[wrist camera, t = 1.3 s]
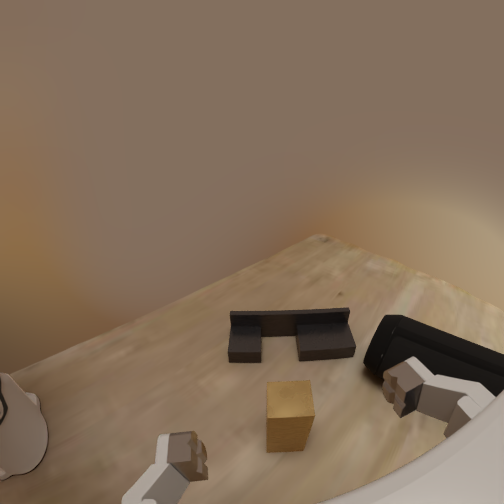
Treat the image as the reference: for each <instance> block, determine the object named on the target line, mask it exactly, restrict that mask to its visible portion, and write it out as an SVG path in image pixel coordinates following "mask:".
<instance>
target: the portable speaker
mask: <svg viewBox="0 0 504 504" xmlns="http://www.w3.org/2000/svg"><path fill="white" fill-rule="evenodd" d="M411 357H416V358H417V359H418V360H419V361H420V362H421V363H422V364H423V365H424V366H425V367H426V368H427V369H428V370H429V371H430V372H431V373H432V374H433V375H437V374H438V375H442V376H447V377H452V378H457V379H462V380H468V381H473V382H479V383H481V384H482V385H483V386H484V387H485V388H486V389H487V390H488V391H489V392H490V393H492V394H493V395H494V396H495V397H497V396H498V395H499V394H500V393H501V392H502V391H503V390H504V354H501V353H498V352H496V351H493V350H491V349H488V348H485V347H483V346H480V345H478V344H475V343H472V342H470V341H467V340H465V339H462V338H459V337H457V336H454V335H452V334H449V333H446V332H444V331H441V330H439V329H436V328H434V327H431V326H428V325H426V324H423V323H421V322H418V321H416V320H413V319H410V318H408V317H405V316H403V315H385V316H384V317H383V319H382V321H381V322H380V324H379V326H378V328H377V330H376V332H375V334H374V336H373V338H372V340H371V343H370V345H369V347H368V349H367V352H366V355H365V358H364V361H363V363H364V365H365V366H366V367H367V368H368V369H369V370H370V371H371V372H372V373H373V374H374V375H377V376H378V377H380V378H382V379H384V378H383V373H384V371H386V370H388V369H390V368H392V367H394V366H396V365H397V364H399V363H401V362H404V361H405V360H407V359H409V358H411ZM384 380H385V379H384Z"/></svg>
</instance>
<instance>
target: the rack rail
mask: <svg viewBox="0 0 504 504" xmlns="http://www.w3.org/2000/svg"><path fill="white" fill-rule="evenodd" d="M349 314H350V310H349V307H348V308H332V309H312V310H284V311H230V321H231V331H230V339H229V347H228V357H229V362H236V363H261V337H272V336H296V342H297V349H298V357H299V361H313V360H327V359H338V358H348V357H353V355H354V352H355V349H356V345H355V342H354V339H353V336H352V333H351V330H350V328H349V325H348V318H349Z"/></svg>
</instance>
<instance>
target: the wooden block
mask: <svg viewBox="0 0 504 504" xmlns="http://www.w3.org/2000/svg"><path fill="white" fill-rule="evenodd" d="M314 417H315V412H314V405H313V398H312V391H311V384H310V380H306V381H288V382H267V420H266V436H267V453H270V452H293V451H303V450H304V447H305V444H306V441H307V438H308V436H309V433H310V430H311V426H312V423H313V420H314Z"/></svg>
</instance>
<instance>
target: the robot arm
mask: <svg viewBox="0 0 504 504" xmlns="http://www.w3.org/2000/svg"><path fill="white" fill-rule="evenodd" d="M383 378H384V379H385V381H384V383H383V384H382V390H383V394H384V396H385V398H386V400H387V401H388V402H389V403H392V404H394V406H393V409H394V411H395V412H396V413H397V415H398V416H399V417H400V418H402V417H404V416H406V415H408V414H409V413H411V412H413V411H415V410H416V411H419V412H421V413H424V414H426V415H429V416H431V417H434V418H437V419H439V420H442V421H445V422H447V423H448V425H447V427H446V429H445V431H444V435H445V437H446V438H447V439H445V440H444V441H442V442H441V443H439V444H438V445H436V446H435V447H433V448H432V449H430V450H429V451H427V452H426V453H424V454H423V455H421V456H419V457H418V458H416V459H414V460H413V461H411V462H409V463H408V464H406V465H404V466H402V467H400V468H399V469H397V470H395V471H393V472H391V473H389V474H387V475H385V476H383V477H381V478H379V479H377V480H375V481H373V482H371V483H368V484H366V485H364V486H362V487H359V488H357V489H354V490H352V491H350V492H347V493H344V494H342V495H339V496H336V497H334V498H331V499H328V500H325V501H322V502H319V503H316V504H504V390H503V391H502V392H501V393H500V394H499V395H498V396H497V397H495V396H494V395H493V394H492V393H490V392H489V391H488V390H487V389H486V388H485V387H484V386H483V385H482V384H481V383H479V382H473V381H468V380H462V379H457V378H452V377H447V376H442V375H438V374H437V375H433V374H432V373H431V372H430V371H429V370H428V369H427V368H426V367H425V366H424V365H423V364H422V363H421V362H420V361H419V360H418V359H417V358H416V357H411V358H409V359H407V360H405V361H404V362H401V363H399V364H397V365H396V366H394V367H392V368H390V369H388V370H386V371H384V373H383ZM47 441H48V431H47V425H46V422H45V420H44V417H43V416H42V414H41V411H40V400H39V398H38V397H37V396H36V395H35V394H33V393H28V392H24V391H23V390H22V389H21V388H20V387H19V386H18V384H17V383H16V382H15V381H14V380H13V379H12V378H11V376H10V375H8V374H4V373H0V480H4V479H6V478H8V477H9V476H11V475H15V474H24V473H27V472H29V471H31V470H32V469H34V468H35V467H36V466H37V465H38V464H39V462H40V461H41V459H42V457H43V455H44V453H45V450H46V447H47ZM206 460H207V452H206V448H205V446H204V444H203V442H202V441H201V440H198V439H197V434H196V433H195V431H189V432H179V433H169V434H160V435H159V437H158V441H157V449H156V457H155V464H152V465H151V466H150V467H149V468H148V469H147V470H146V471H145V473H144V474H143V475H142V476H141V477H140V478H139V479H138V480H137V481H136V483H135V484H134V485H133V486H132V487H131V488H130V489H129V490H128V491H127V492H126V494H125V495H124V496H123V497H122V504H177V503H178V502H179V500H180V498H181V497H182V495H183V493H184V492H185V490H186V488H187V487H188V485H189V483H190V482H193V481H202V480H208V467H207V466H206V465H205V464H204V463H205V462H206Z"/></svg>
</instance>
